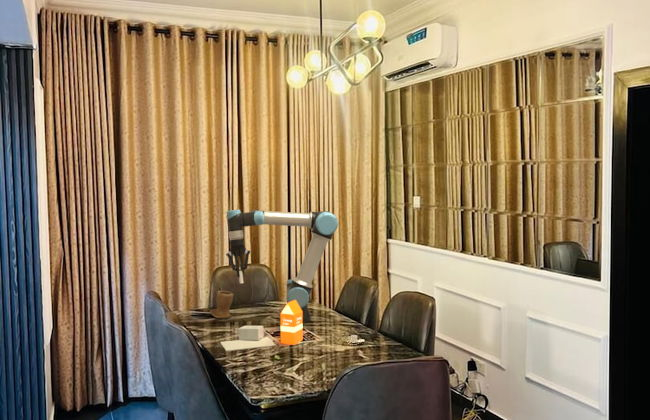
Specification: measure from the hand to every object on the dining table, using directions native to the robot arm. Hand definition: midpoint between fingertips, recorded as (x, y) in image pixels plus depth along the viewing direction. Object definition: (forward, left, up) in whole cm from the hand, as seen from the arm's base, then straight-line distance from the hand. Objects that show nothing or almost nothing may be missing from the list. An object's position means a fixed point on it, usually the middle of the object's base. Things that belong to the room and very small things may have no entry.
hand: (241, 283), depth 304 cm
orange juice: (-17, +33, -25) cm, 45 cm away
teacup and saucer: (-45, +50, -25) cm, 72 cm away
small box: (+5, +18, -22) cm, 28 cm away
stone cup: (+5, -31, -25) cm, 40 cm away
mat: (+4, +29, -24) cm, 39 cm away
